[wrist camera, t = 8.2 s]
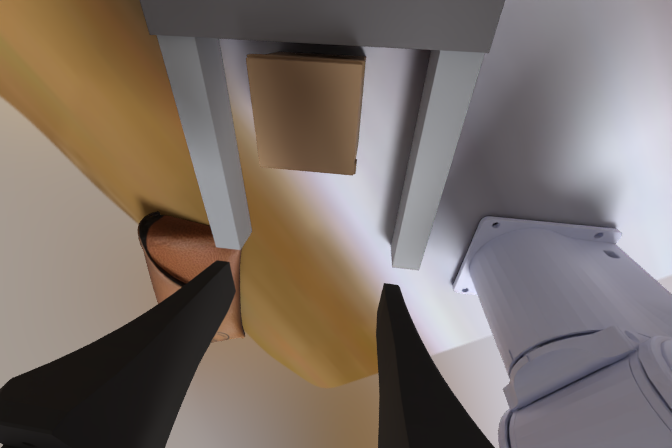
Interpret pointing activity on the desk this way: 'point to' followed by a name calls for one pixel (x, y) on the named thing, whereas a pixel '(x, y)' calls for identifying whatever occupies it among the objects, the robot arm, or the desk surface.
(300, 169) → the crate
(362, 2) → the bay
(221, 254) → the sunglasses case
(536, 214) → the desk surface
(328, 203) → the desk surface
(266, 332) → the desk surface
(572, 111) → the desk surface
